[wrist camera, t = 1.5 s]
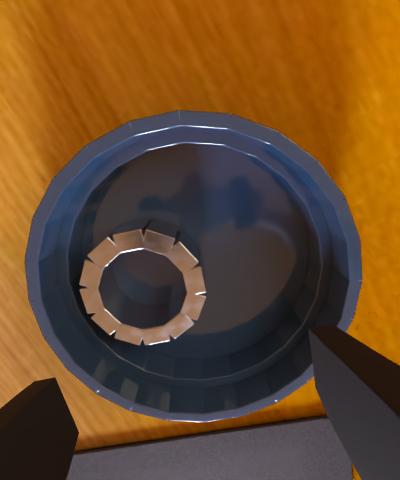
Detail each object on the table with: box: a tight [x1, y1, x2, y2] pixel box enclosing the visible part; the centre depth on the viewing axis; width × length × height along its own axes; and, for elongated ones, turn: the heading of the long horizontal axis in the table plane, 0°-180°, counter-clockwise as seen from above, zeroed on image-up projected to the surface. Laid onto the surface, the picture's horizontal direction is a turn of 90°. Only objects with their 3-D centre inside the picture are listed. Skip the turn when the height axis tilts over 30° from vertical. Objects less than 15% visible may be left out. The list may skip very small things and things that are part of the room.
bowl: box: [25, 110, 362, 422], centre depth 16 cm, size 15×15×4 cm
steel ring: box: [79, 218, 207, 346], centre depth 16 cm, size 6×6×3 cm
